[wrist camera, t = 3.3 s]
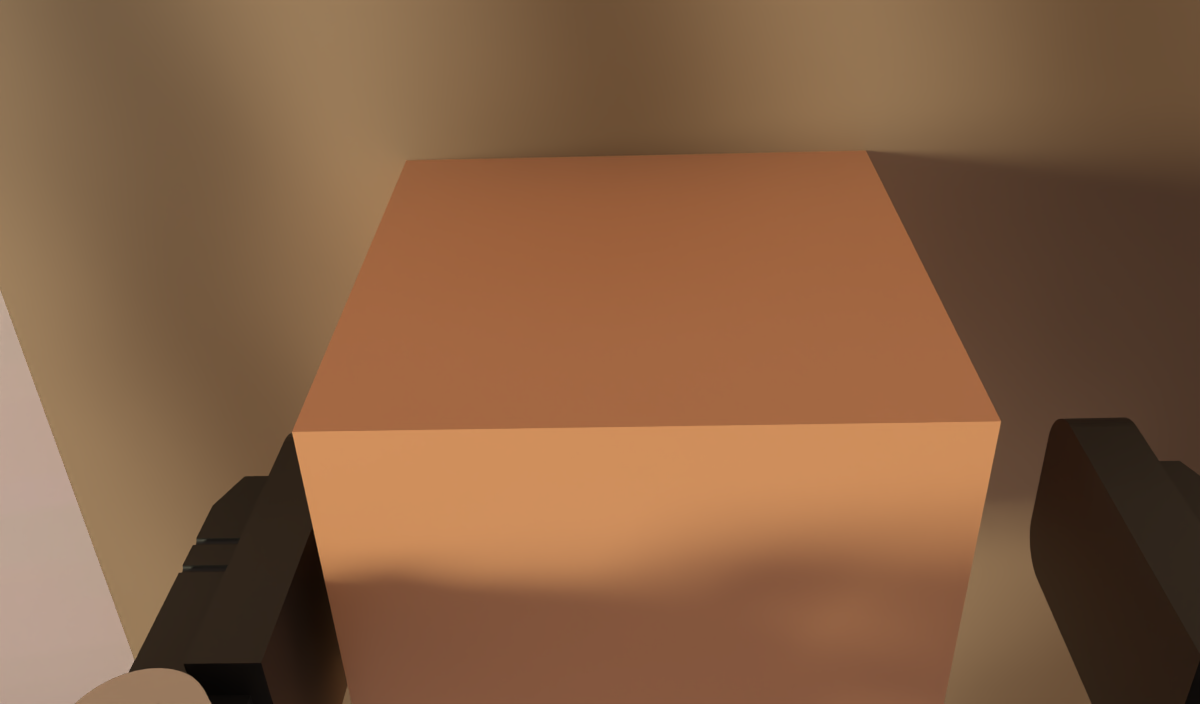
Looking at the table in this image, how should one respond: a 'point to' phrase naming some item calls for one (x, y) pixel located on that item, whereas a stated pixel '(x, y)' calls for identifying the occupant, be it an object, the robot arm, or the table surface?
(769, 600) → the orange cube
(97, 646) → the table surface
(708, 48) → the base plate
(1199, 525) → the robot arm
